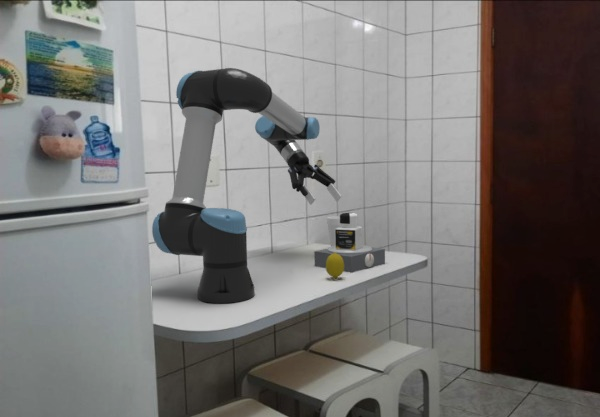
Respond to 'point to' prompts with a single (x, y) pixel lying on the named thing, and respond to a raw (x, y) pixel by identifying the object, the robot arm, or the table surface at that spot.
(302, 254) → the table surface
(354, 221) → the medicine bottle
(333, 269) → the lemon
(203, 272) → the robot arm
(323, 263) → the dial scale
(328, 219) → the clear plastic beaker
